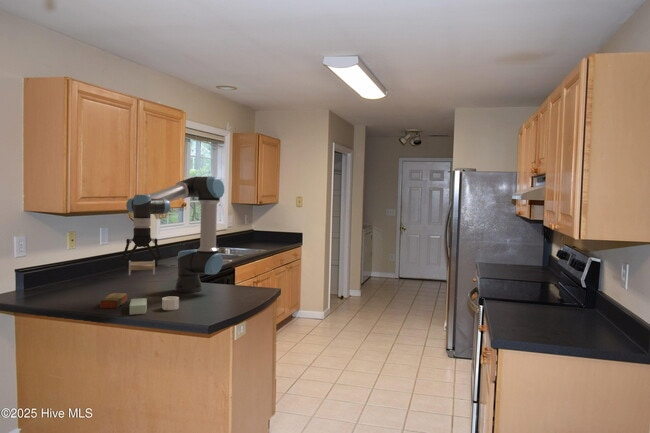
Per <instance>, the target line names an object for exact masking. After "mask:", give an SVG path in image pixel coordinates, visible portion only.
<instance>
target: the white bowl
mask: <svg viewBox="0 0 650 433" xmlns="http://www.w3.org/2000/svg"><path fill="white" fill-rule="evenodd" d="M161 298H162V299H161V303H162V305H161V306H162V311H163V310H164V311H176V310H178V309H179V308H180V297H179V296H173V295H172V296H165V297H161Z"/></svg>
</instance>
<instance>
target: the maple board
mask: <svg viewBox="0 0 650 433" xmlns="http://www.w3.org/2000/svg"><path fill="white" fill-rule="evenodd" d="M130 270H131V271H144V270H146V271H147V270H149V271H150V270H153V260H151V261H150V260H149V261H131V265H130Z"/></svg>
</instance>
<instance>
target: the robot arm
mask: <svg viewBox="0 0 650 433" xmlns="http://www.w3.org/2000/svg"><path fill="white" fill-rule="evenodd" d="M224 194H225V185H224V183H223V181H222V180H221V178H219V177H218V176H212V175H211V176H193V177H189V178H186V179H184V180H181V181H178V182H176V183H175V185H171V186H169V187H166V188H163V189H160V190H158V191H155V192H152V193H149V194H140V193H139V194H134V196H133V197H132V198H131V197H130V198H129V199H128V200H127V201H126V204H125V205H126V209H127V211H128V212H129V213H132V214H133V227H134V228H133V237H132V238H126V242H125V243H126V244H125V248H124V251H123V253H122V254H123V255H122V258H121V259H122V260H123V261H125V263H126V264H125V268H126V269H128V276H131V275H132V273H131V272H132V270H130V265H131V262H132V260H130V259H131V258H132V256H133V254H134V253H135V251H136V250H137V248H147V249H148V251H149V252H150V254H151V256H152V257H153V259H152V261H153V269H152V274H153V275H155V274H156V268H158V260H161V259H162V254H161V252H160V248H159V245H158V238H152V237H151V236H152V235H151V231H152V230H151V228H150V227H151V223H152V222H151V221H152V220H151V219H152V218H151V216H152V215H165V214H168V213H169V212H170V210H171V202H173V201H176V200H179V199H182V200H183V199H184V200H185V199H186V198H197V199H198V202H199V203H200V234H199V235H200V237H199V240H200V241H199V245H200V246H199V247H198V248H197V249H196V248H195V249H187V250H186V249H185V250H180V251H178V253H177V279H176V282H175V285H174V292H176V293H184V294H185V293H189V294H190V293H196V292H197V293H198V292H200V291H203V284H202V282H201V279H200V274H205V275H217V274H218V273H219V272H220V271H221V269H222V267H223V264H224V259H223V256H222V255H221V254H220V253H219V251H220V250H219V248H217V221H218V220H217V219H218V218H217V211H218V210H217V209H218V204H219V202H220V201H221V200H220V199H221V198H222V197H223V196H224ZM132 242H133V243H134V246H133V248H132V249H131V250H130V253H129V254H128V256H127V253H128V249H129V247H130V244H131V243H132ZM151 242H152V243H153V244H154V246H155V250H156V253H155V252H154V250H153V248H152V247H151V245H150V243H151ZM156 254H157V256H156Z"/></svg>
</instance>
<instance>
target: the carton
mask: <svg viewBox="0 0 650 433" xmlns="http://www.w3.org/2000/svg"><path fill="white" fill-rule="evenodd" d="M127 301H128V294H127V293H124V292H123V293H122V292H121V293H120V292H119V293H118V292H117V293H115V292H114V293H110V294H108V295H106V296H105V297H103V298H102V299H100V302H99V308H100V309H117V308H119V307H121V306H122V305H123V304H125V303H126V302H127ZM120 305H121V306H120Z"/></svg>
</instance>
